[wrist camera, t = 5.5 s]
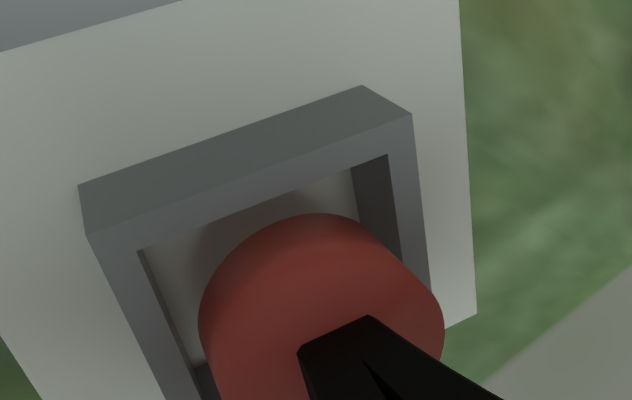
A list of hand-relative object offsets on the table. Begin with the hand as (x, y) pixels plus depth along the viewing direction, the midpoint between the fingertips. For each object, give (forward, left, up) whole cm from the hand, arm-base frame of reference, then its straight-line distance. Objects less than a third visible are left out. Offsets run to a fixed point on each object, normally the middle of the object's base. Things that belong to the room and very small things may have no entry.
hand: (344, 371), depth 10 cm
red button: (0, 0, -2) cm, 2 cm away
